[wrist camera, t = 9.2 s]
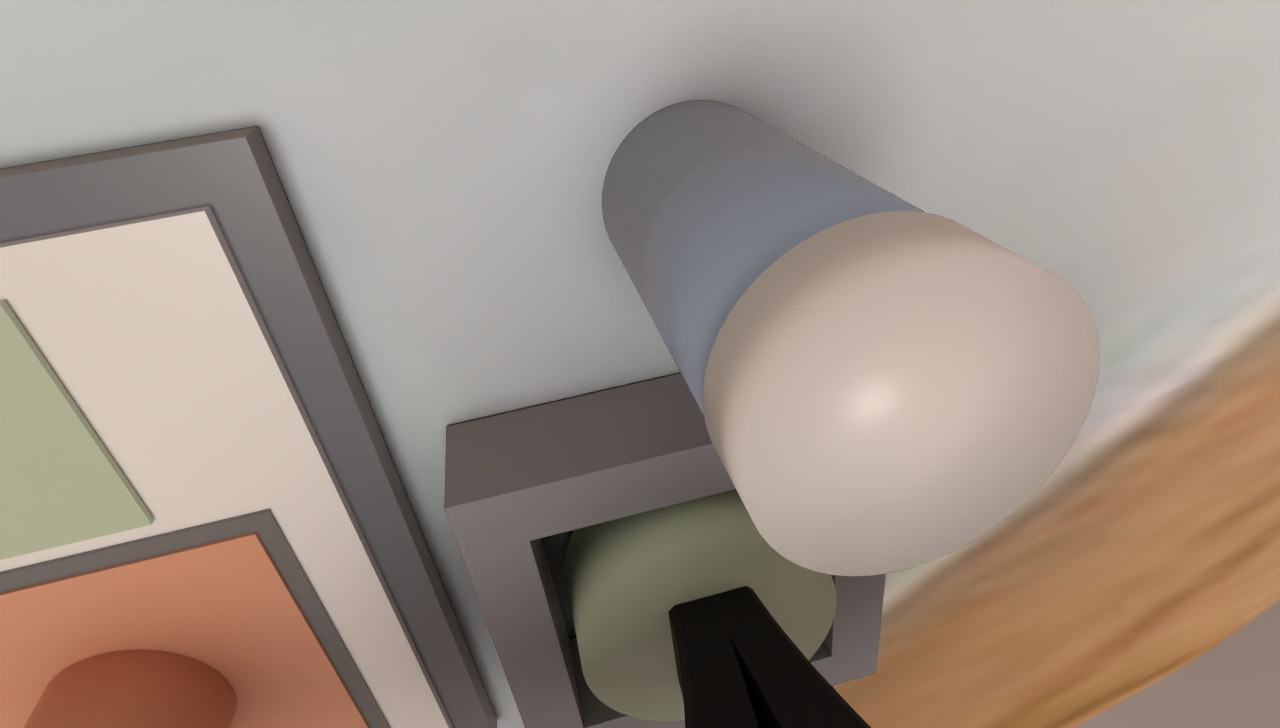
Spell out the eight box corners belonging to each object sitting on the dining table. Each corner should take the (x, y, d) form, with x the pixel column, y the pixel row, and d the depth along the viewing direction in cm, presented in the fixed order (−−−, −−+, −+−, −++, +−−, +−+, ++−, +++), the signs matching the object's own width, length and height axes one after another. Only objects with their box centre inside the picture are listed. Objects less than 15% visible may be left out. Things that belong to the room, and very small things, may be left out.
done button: (789, 596, 15) (832, 679, 13) (585, 653, 14) (603, 748, 12) (789, 432, 12) (840, 508, 11) (544, 492, 12) (557, 582, 10)
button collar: (831, 597, 16) (875, 672, 14) (532, 680, 15) (541, 771, 13) (842, 336, 12) (904, 396, 11) (446, 426, 11) (445, 508, 10)
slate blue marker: (785, 268, 11) (1057, 526, 6) (613, 304, 11) (750, 612, 6) (784, 80, 10) (1143, 219, 5) (583, 116, 9) (734, 310, 4)
